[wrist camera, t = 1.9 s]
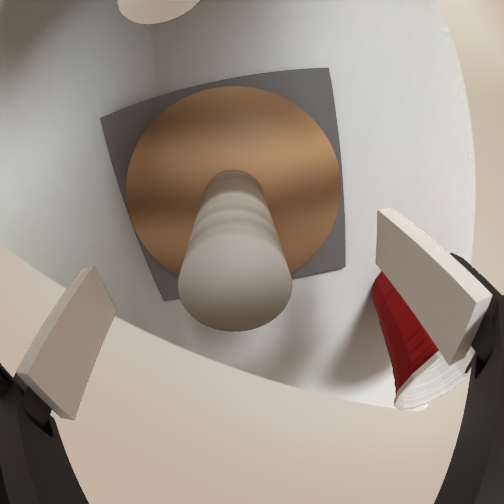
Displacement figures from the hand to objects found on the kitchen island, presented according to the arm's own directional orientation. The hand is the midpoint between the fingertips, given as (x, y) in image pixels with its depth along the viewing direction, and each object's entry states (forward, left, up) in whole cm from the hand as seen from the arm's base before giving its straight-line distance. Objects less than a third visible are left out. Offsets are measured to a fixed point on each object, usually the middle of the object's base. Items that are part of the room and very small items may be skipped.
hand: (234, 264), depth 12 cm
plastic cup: (+12, +14, -9) cm, 21 cm away
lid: (0, 0, -9) cm, 9 cm away
